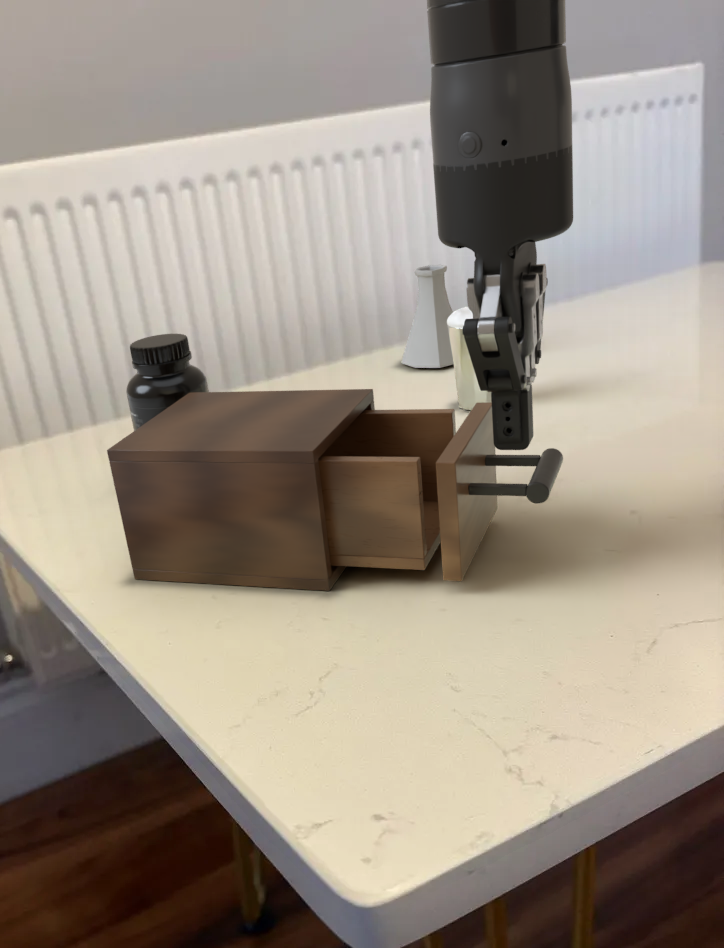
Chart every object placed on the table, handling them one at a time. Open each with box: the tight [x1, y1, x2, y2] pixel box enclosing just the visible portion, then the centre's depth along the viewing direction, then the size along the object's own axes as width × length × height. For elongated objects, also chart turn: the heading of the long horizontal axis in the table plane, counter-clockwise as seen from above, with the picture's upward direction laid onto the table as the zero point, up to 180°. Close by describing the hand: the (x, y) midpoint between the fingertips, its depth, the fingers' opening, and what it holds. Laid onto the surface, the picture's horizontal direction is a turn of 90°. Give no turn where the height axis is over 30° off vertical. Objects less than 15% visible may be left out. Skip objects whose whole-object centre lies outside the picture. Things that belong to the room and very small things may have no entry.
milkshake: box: [447, 305, 491, 411], centre depth 94 cm, size 5×5×10 cm
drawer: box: [318, 402, 564, 582], centre depth 68 cm, size 18×11×8 cm, turn 68°
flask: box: [400, 264, 454, 369], centre depth 110 cm, size 7×7×10 cm
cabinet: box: [106, 388, 376, 592], centre depth 72 cm, size 15×13×10 cm
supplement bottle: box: [126, 333, 210, 432], centre depth 87 cm, size 7×7×12 cm
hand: (513, 445), depth 64 cm, fingers closed
